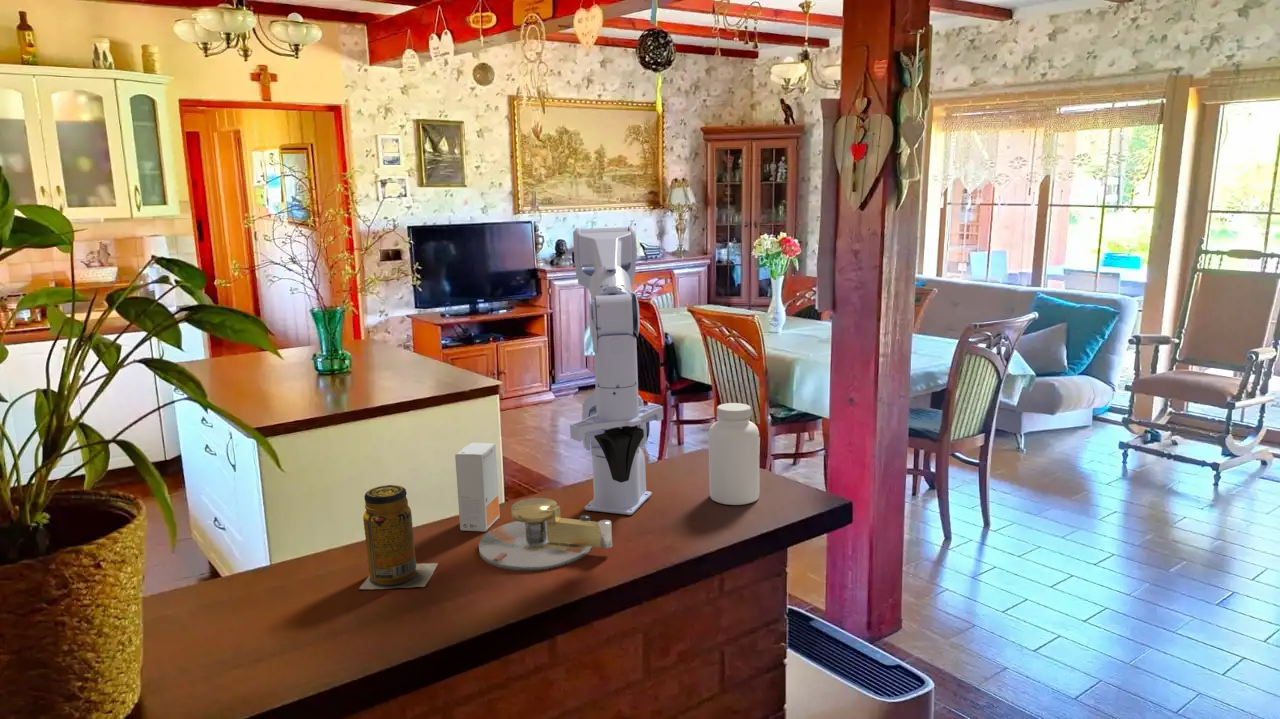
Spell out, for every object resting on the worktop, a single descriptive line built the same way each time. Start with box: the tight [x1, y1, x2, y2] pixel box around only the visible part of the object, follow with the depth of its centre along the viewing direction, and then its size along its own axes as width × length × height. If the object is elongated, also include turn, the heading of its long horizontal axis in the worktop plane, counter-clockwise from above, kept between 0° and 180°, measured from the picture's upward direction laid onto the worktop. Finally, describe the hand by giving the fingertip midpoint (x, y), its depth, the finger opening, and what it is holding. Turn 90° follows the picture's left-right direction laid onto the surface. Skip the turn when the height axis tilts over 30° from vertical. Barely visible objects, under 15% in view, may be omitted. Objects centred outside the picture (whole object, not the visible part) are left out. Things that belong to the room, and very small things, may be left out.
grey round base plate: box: [478, 514, 593, 572], centre depth 123 cm, size 16×16×4 cm
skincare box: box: [454, 442, 501, 533], centre depth 131 cm, size 6×4×12 cm
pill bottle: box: [708, 402, 760, 506], centre depth 138 cm, size 8×8×15 cm
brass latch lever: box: [510, 497, 613, 549], centre depth 121 cm, size 15×6×5 cm, turn 70°
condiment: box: [358, 484, 439, 590], centre depth 114 cm, size 7×8×12 cm
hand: (620, 479), depth 120 cm, fingers closed
